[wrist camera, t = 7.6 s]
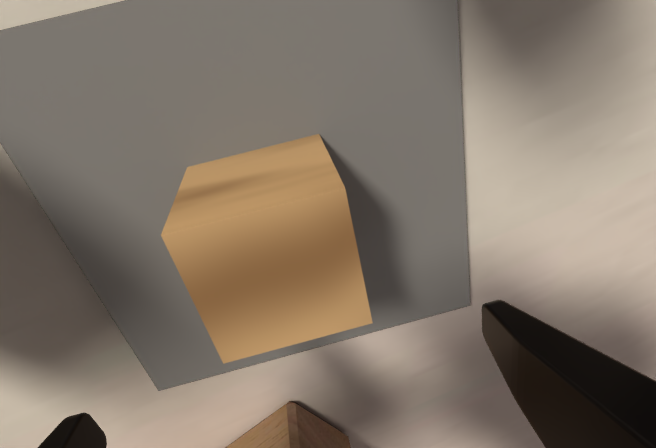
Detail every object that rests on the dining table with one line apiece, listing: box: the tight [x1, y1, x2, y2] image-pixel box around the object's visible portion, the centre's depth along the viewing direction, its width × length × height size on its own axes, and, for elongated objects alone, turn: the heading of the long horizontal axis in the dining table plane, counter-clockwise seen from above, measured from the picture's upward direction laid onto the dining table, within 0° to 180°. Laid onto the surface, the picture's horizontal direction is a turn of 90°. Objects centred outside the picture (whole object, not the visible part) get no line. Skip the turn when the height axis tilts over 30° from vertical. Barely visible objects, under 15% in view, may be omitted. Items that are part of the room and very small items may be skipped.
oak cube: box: [161, 134, 373, 364], centre depth 14 cm, size 5×5×5 cm
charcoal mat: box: [0, 0, 470, 391], centre depth 17 cm, size 16×16×1 cm
